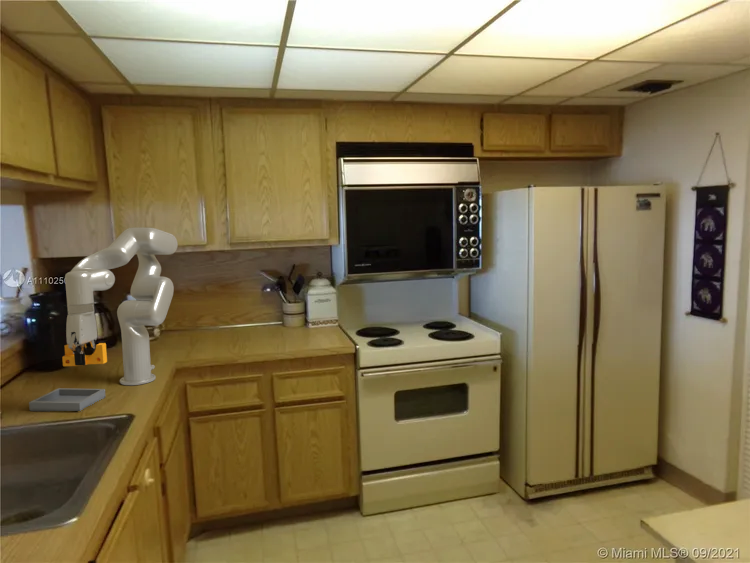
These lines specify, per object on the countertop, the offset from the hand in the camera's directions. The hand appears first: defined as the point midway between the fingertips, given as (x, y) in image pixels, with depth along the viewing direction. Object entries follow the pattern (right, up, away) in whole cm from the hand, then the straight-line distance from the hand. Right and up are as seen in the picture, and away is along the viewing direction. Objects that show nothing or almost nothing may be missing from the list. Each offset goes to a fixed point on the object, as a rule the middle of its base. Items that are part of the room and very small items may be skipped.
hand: (85, 362), depth 165 cm
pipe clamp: (0, -1, 0) cm, 1 cm away
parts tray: (-8, -15, +4) cm, 17 cm away
